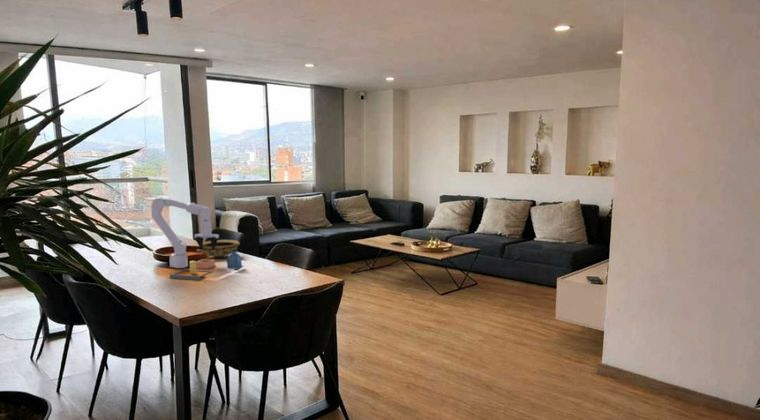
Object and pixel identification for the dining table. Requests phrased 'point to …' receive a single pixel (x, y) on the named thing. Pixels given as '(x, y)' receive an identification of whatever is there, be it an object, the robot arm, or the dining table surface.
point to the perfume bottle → (234, 260)
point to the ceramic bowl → (219, 248)
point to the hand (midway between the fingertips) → (207, 249)
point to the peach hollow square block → (205, 263)
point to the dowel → (192, 267)
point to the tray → (189, 275)
